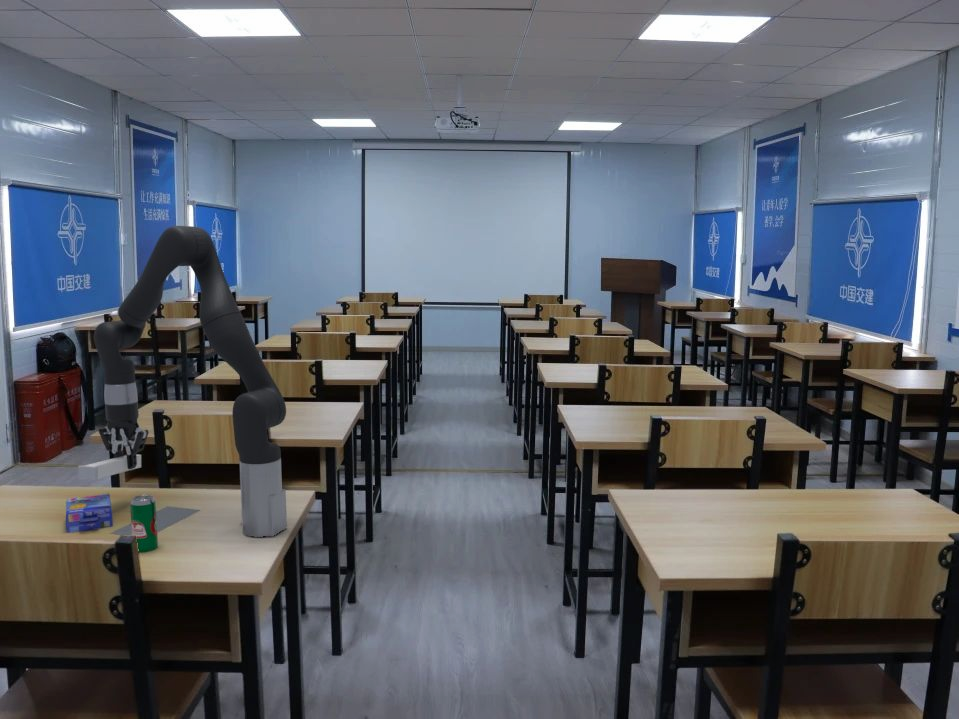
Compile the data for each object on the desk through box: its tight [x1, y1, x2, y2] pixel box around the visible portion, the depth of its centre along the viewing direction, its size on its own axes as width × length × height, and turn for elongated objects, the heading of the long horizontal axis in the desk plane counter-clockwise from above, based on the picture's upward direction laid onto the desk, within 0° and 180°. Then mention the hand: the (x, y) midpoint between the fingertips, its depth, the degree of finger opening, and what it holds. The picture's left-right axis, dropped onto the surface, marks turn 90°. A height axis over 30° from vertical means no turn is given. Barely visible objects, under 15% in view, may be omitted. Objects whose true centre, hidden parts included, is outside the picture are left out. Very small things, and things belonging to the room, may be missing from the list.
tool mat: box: [109, 505, 201, 536], centre depth 190 cm, size 10×20×1 cm, turn 163°
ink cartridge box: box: [65, 493, 114, 534], centre depth 189 cm, size 10×6×14 cm
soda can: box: [129, 494, 159, 553], centre depth 173 cm, size 5×5×12 cm
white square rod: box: [77, 453, 142, 482], centre depth 196 cm, size 5×17×3 cm, turn 163°
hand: (125, 467), depth 201 cm, fingers closed on white square rod, 3 cm apart
